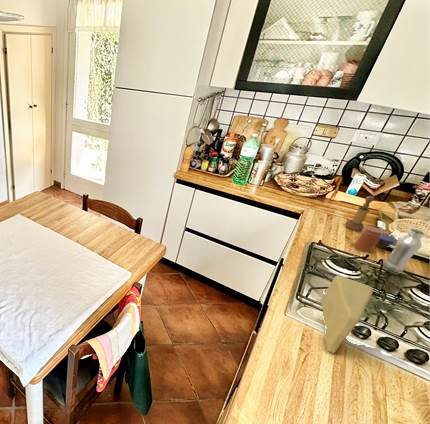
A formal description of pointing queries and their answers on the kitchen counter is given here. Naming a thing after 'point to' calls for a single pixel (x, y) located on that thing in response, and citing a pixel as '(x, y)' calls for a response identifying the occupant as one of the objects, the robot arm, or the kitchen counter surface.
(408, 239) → the plastic bottle
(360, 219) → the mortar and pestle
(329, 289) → the cheese
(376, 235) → the jam jar
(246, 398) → the kitchen counter surface
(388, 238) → the jar lid
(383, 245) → the lid stand
